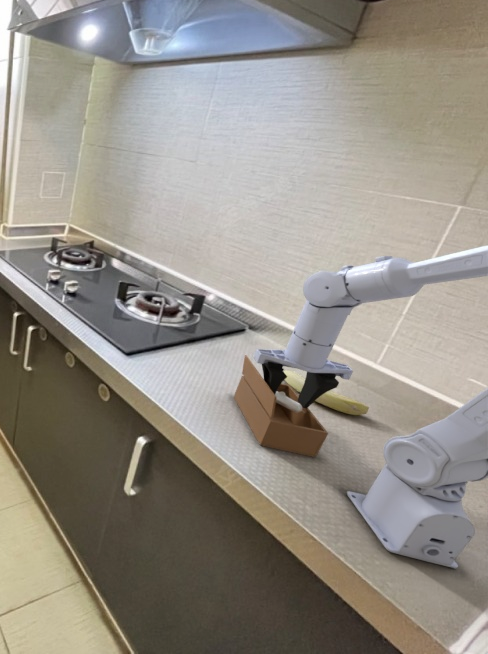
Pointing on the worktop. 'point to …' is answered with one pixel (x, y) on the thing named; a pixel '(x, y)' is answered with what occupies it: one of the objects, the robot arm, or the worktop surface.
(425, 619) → the worktop surface
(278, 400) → the small white plastic part
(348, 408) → the fruit
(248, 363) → the brown box flap
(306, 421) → the carton
